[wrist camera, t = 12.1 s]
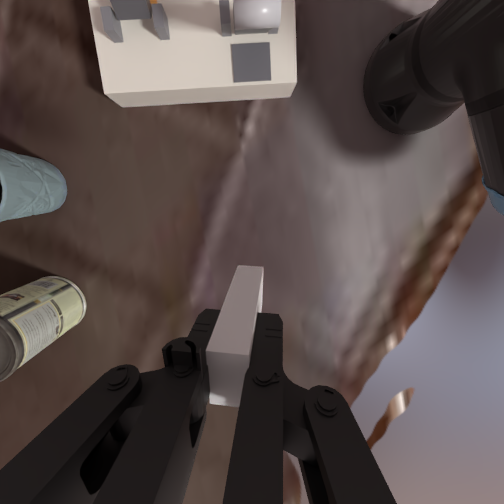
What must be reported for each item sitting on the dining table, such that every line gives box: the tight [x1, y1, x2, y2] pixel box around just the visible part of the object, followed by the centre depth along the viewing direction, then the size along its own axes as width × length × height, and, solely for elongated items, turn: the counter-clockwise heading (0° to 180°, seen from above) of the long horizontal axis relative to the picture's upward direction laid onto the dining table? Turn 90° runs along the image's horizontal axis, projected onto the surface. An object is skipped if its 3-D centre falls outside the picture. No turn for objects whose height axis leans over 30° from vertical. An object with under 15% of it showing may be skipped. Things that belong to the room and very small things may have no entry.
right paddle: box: [233, 0, 281, 35], centre depth 26 cm, size 4×2×13 cm, turn 94°
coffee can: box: [0, 276, 86, 382], centre depth 37 cm, size 10×10×14 cm
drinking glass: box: [0, 149, 67, 222], centre depth 34 cm, size 10×10×12 cm
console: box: [88, 0, 297, 107], centre depth 33 cm, size 26×14×7 cm, turn 94°
